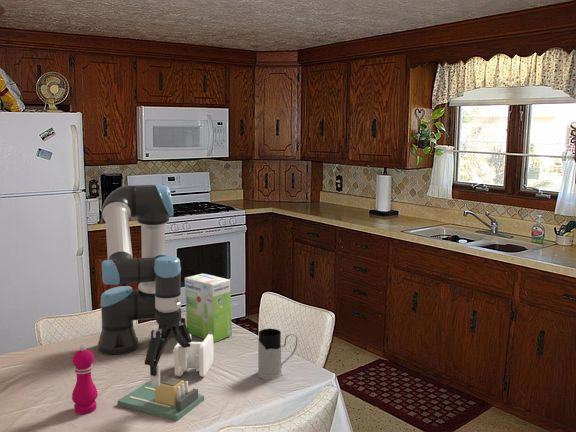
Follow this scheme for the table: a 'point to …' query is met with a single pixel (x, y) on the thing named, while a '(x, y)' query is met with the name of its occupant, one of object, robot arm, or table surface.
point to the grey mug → (270, 353)
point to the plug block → (168, 390)
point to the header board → (147, 403)
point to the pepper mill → (84, 382)
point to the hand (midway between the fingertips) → (169, 375)
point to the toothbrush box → (208, 306)
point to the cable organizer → (196, 356)
